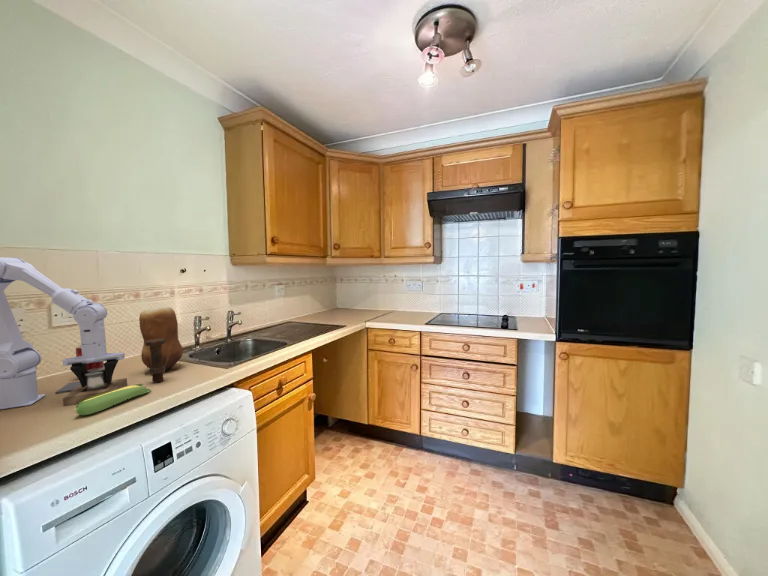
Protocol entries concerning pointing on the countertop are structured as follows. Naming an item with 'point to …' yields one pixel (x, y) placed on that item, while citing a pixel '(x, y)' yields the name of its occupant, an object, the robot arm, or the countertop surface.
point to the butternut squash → (161, 335)
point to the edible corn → (109, 399)
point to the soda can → (89, 365)
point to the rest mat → (68, 387)
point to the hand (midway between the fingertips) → (97, 384)
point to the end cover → (96, 379)
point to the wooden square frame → (91, 392)
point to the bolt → (156, 359)
